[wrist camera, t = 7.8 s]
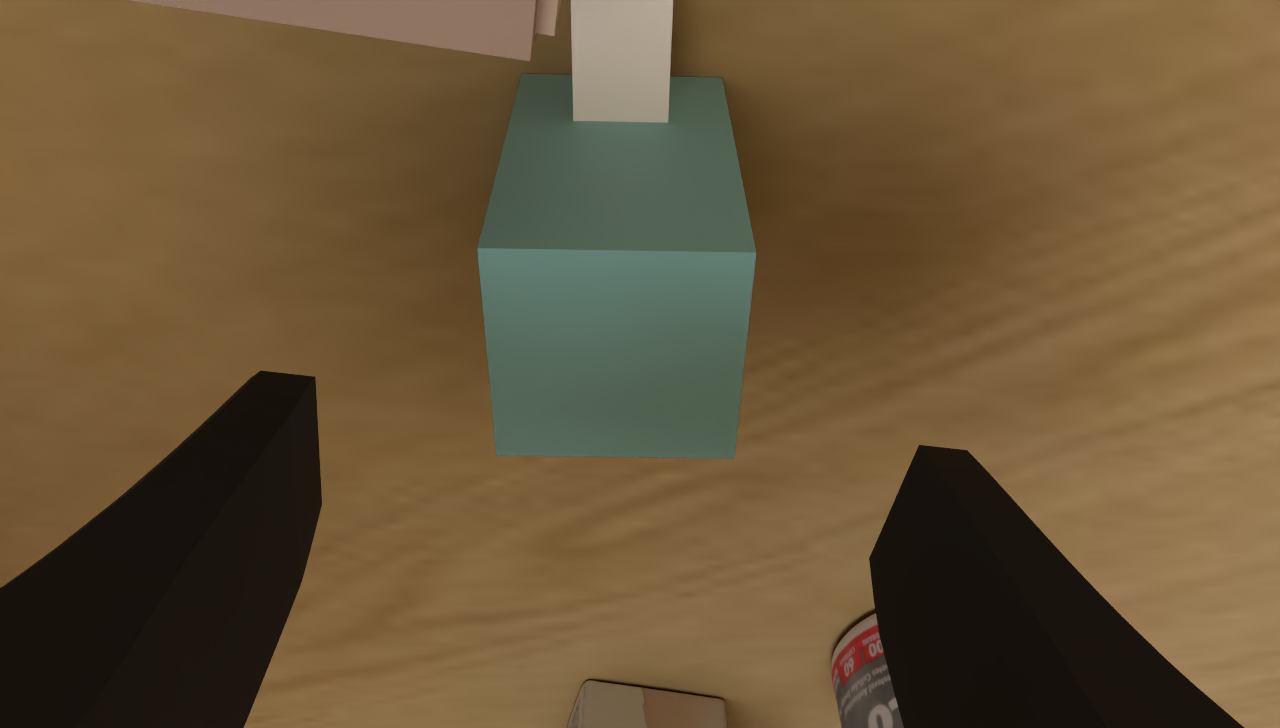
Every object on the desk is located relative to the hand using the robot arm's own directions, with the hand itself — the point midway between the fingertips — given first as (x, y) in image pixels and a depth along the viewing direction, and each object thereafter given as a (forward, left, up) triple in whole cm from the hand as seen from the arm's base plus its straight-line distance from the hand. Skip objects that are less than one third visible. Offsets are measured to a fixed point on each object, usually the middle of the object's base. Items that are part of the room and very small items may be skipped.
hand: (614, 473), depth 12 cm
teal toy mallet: (+6, +1, -8) cm, 10 cm away
